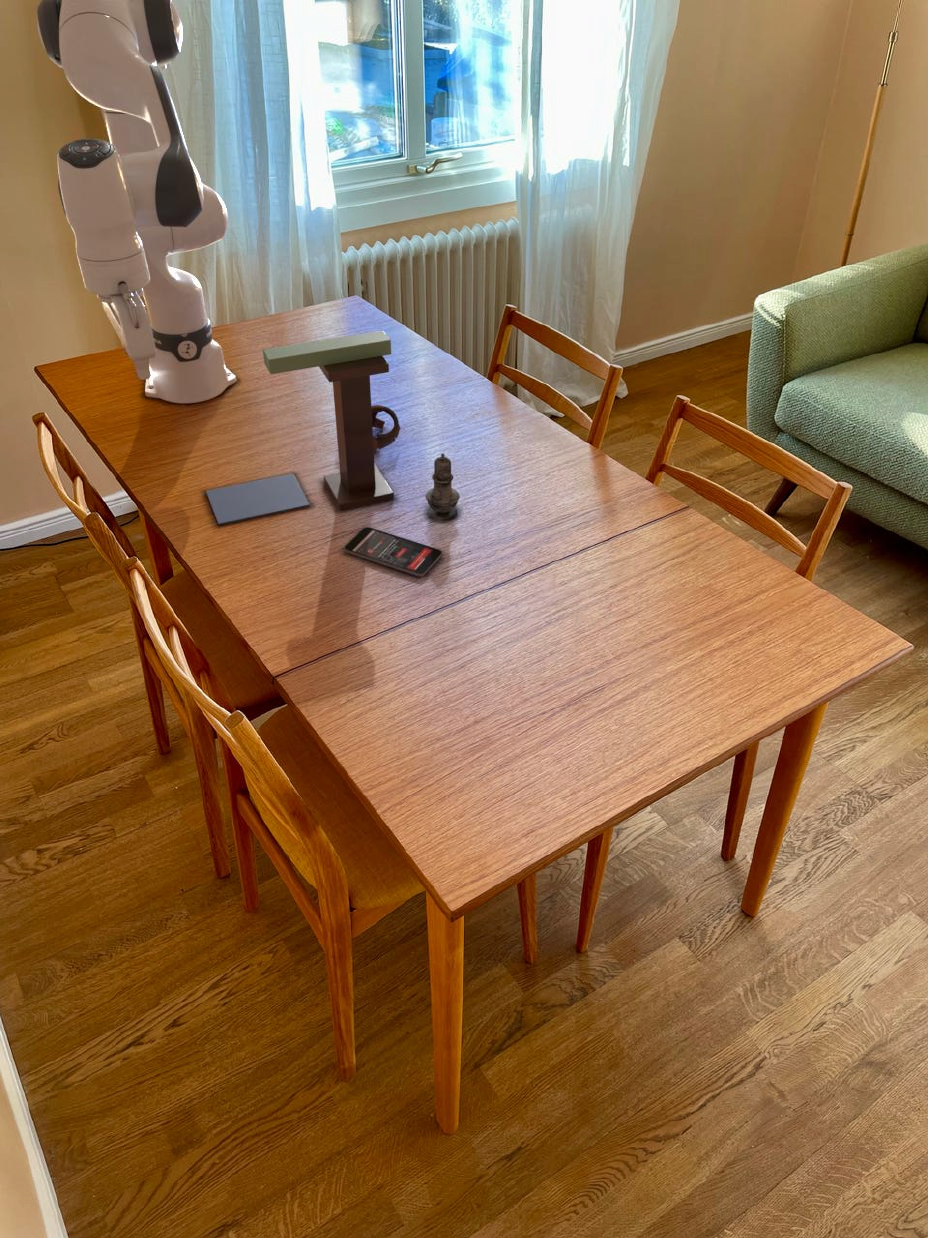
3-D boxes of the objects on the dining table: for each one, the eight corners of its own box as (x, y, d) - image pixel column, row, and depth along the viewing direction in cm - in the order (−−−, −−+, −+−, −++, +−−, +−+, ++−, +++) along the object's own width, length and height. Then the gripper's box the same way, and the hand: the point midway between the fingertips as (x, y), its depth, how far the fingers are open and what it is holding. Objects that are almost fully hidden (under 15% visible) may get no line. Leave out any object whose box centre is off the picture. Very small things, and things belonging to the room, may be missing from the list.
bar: (264, 363, 150) (262, 348, 149) (383, 344, 156) (382, 329, 155) (270, 374, 147) (268, 359, 146) (391, 354, 154) (390, 339, 152)
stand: (323, 482, 172) (311, 347, 155) (376, 471, 175) (369, 338, 158) (340, 511, 165) (328, 373, 148) (394, 499, 168) (388, 363, 151)
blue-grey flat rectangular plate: (205, 492, 169) (205, 490, 169) (293, 474, 174) (293, 472, 173) (218, 525, 161) (218, 523, 161) (309, 506, 166) (309, 504, 166)
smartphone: (422, 575, 150) (342, 548, 155) (422, 578, 151) (342, 552, 156) (443, 550, 155) (365, 525, 160) (443, 554, 156) (365, 529, 161)
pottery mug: (397, 428, 188) (405, 405, 181) (391, 468, 184) (399, 446, 177) (337, 414, 186) (343, 390, 178) (330, 455, 182) (336, 432, 175)
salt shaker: (447, 526, 162) (448, 466, 154) (419, 515, 164) (418, 455, 157) (465, 510, 166) (467, 450, 158) (437, 499, 168) (437, 440, 160)
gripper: (155, 292, 125) (175, 388, 134) (123, 245, 139) (143, 335, 148) (106, 301, 123) (130, 398, 132) (79, 252, 137) (102, 342, 146)
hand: (137, 364), depth 140 cm, fingers open, 8 cm apart
